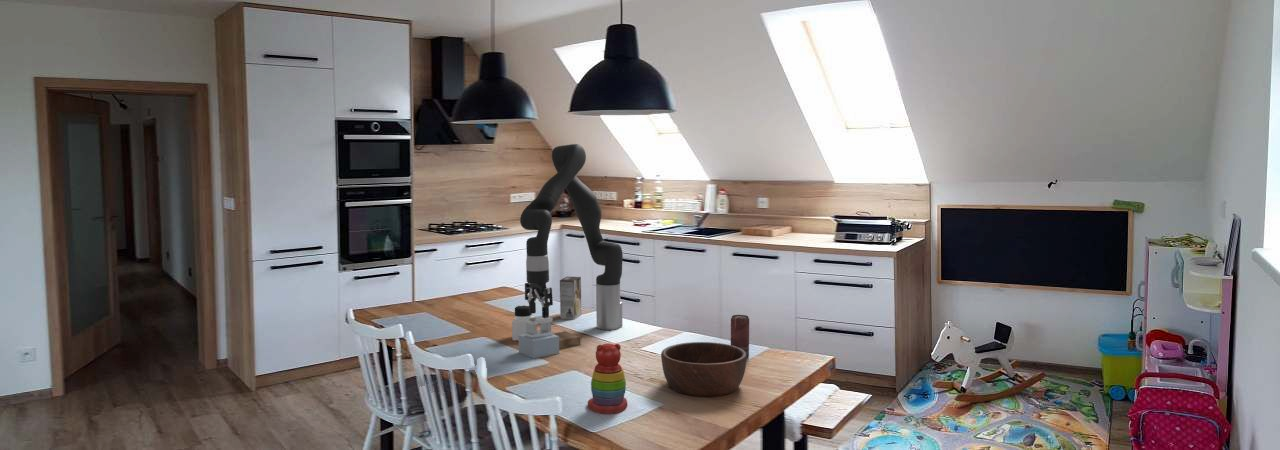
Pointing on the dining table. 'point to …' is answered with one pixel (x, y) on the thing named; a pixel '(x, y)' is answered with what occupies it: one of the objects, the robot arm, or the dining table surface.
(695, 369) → the wooden bowl
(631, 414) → the dining table surface
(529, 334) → the housing
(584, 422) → the dining table surface
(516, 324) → the medicine bottle
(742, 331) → the can
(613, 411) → the stacking bear
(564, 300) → the coffee box
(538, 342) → the stand
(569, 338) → the stand
